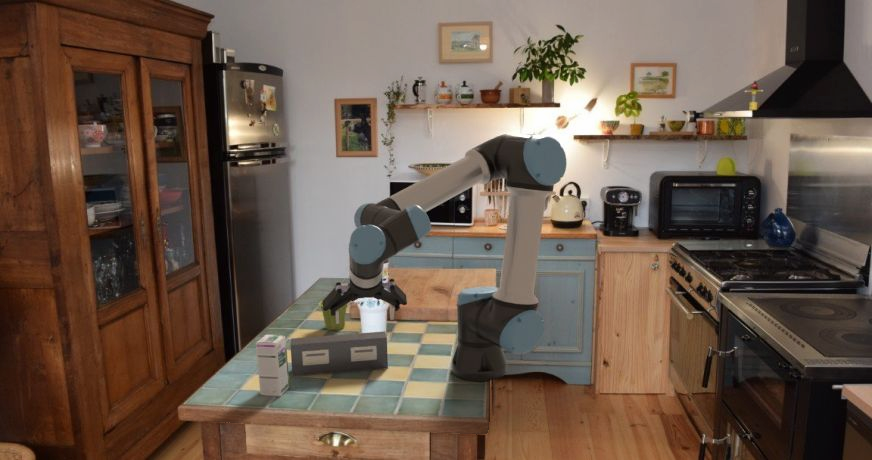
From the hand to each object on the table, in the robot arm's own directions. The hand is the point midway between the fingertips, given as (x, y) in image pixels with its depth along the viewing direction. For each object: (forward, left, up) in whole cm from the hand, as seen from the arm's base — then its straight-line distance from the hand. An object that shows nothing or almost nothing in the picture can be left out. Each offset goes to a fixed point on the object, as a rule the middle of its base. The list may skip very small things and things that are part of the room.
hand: (364, 317), depth 172 cm
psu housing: (+15, -6, -20) cm, 26 cm away
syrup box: (+20, +14, -20) cm, 31 cm away
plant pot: (+40, -30, -20) cm, 54 cm away
